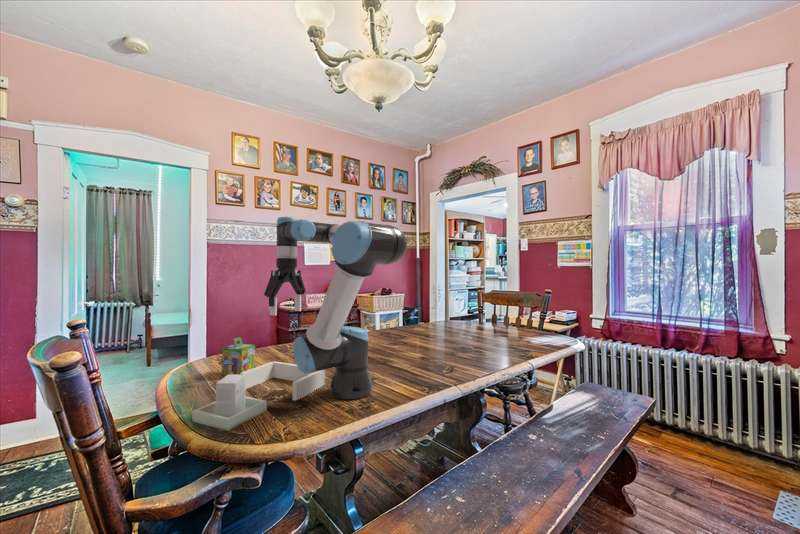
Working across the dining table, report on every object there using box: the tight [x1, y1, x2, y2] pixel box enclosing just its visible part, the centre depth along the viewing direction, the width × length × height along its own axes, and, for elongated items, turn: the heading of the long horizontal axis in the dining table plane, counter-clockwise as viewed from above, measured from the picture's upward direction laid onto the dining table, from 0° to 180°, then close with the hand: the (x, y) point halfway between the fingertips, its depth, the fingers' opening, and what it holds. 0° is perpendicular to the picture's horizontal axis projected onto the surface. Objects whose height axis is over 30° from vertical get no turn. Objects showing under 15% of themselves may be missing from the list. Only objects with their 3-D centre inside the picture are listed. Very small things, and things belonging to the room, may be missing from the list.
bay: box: [240, 360, 326, 402], centre depth 123 cm, size 25×16×6 cm, turn 68°
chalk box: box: [221, 337, 256, 378], centre depth 137 cm, size 9×9×15 cm
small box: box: [215, 375, 247, 418], centre depth 99 cm, size 8×6×10 cm
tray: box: [191, 395, 268, 432], centre depth 99 cm, size 14×14×3 cm
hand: (286, 313), depth 128 cm, fingers open, 13 cm apart
